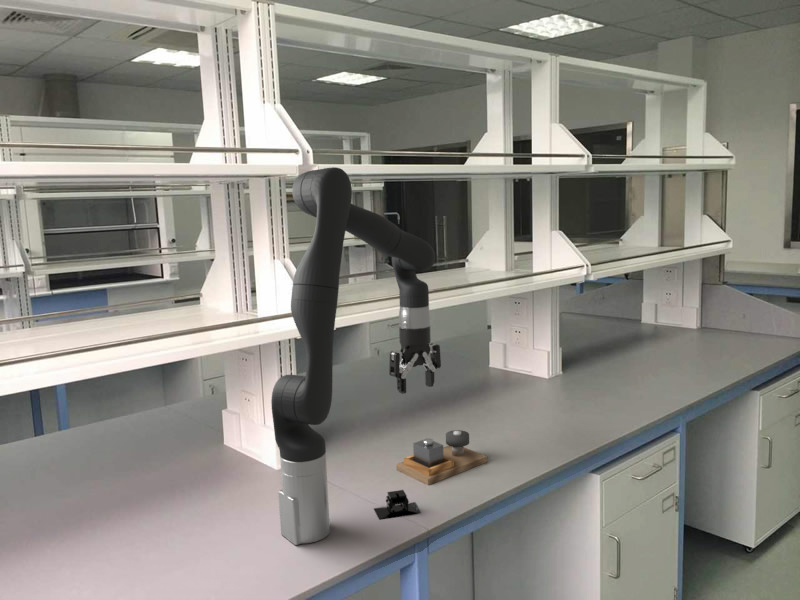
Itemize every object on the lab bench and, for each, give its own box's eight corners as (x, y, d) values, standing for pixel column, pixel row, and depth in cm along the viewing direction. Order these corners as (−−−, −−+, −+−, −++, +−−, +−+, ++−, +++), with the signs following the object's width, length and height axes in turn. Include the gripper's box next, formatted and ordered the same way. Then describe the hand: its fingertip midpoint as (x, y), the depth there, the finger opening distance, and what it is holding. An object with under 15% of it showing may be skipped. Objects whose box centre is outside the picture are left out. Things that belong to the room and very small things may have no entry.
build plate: (373, 525, 140) (372, 505, 139) (366, 509, 147) (365, 490, 146) (429, 516, 143) (428, 496, 142) (420, 501, 150) (419, 482, 149)
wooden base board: (428, 485, 157) (427, 467, 156) (396, 469, 166) (396, 452, 165) (486, 461, 169) (486, 445, 168) (454, 448, 178) (454, 432, 178)
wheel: (457, 448, 166) (456, 438, 166) (441, 442, 171) (440, 432, 170) (474, 442, 170) (474, 432, 169) (457, 436, 174) (457, 426, 174)
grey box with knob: (429, 471, 161) (429, 446, 160) (413, 464, 165) (413, 439, 164) (443, 466, 164) (443, 441, 163) (427, 459, 168) (427, 434, 167)
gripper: (427, 318, 167) (428, 381, 169) (381, 326, 158) (383, 392, 160) (447, 322, 161) (448, 387, 163) (400, 330, 152) (402, 398, 154)
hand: (416, 389), depth 162 cm, fingers open, 8 cm apart
